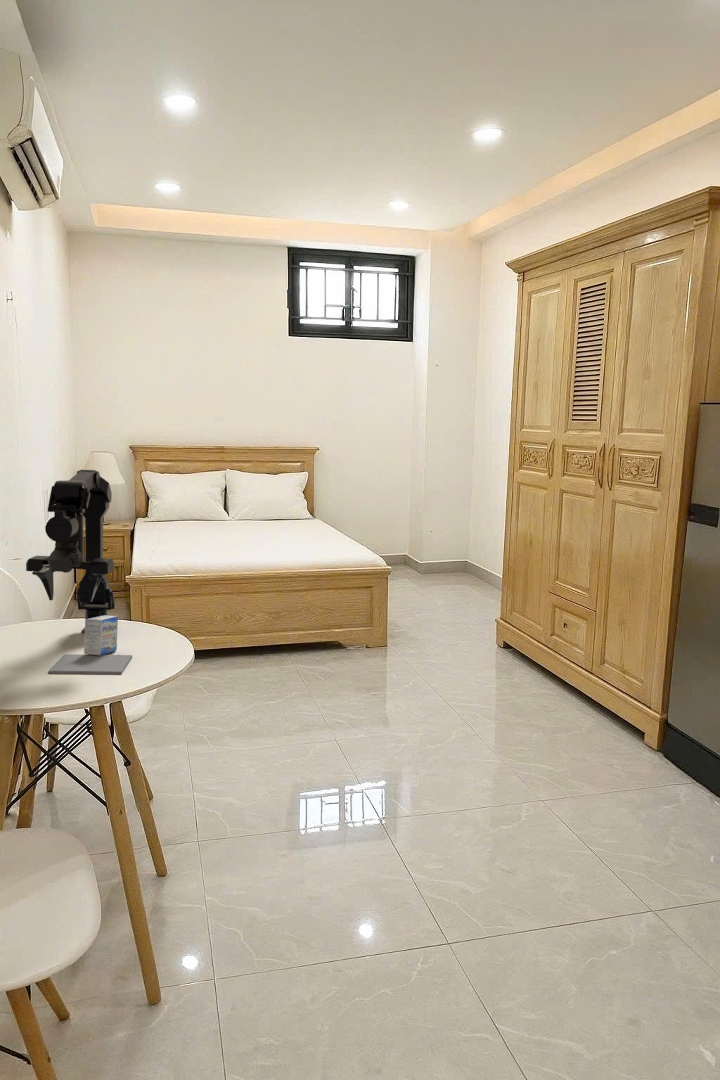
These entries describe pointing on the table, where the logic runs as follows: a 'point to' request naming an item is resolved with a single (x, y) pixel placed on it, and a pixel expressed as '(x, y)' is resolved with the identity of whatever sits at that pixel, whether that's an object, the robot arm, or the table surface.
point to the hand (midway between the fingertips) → (71, 600)
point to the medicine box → (100, 635)
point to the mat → (91, 664)
